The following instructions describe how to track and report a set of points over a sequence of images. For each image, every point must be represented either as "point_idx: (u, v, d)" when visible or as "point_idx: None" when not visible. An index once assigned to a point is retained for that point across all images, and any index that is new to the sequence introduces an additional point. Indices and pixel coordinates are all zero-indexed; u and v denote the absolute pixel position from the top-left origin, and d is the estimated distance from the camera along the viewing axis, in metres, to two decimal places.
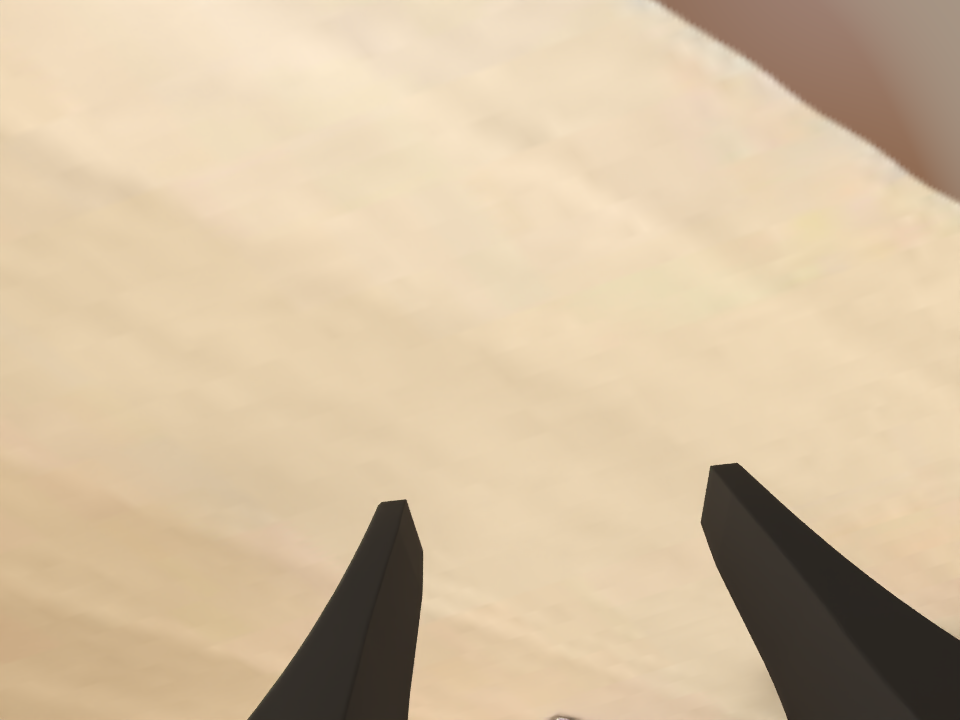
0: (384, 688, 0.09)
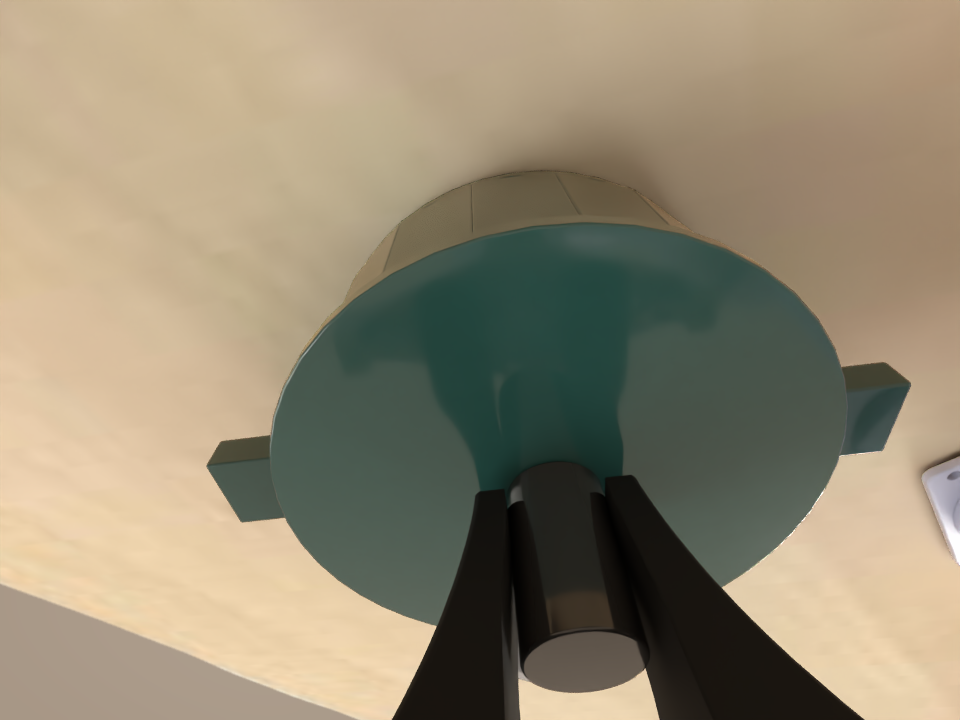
0: (511, 677, 0.09)
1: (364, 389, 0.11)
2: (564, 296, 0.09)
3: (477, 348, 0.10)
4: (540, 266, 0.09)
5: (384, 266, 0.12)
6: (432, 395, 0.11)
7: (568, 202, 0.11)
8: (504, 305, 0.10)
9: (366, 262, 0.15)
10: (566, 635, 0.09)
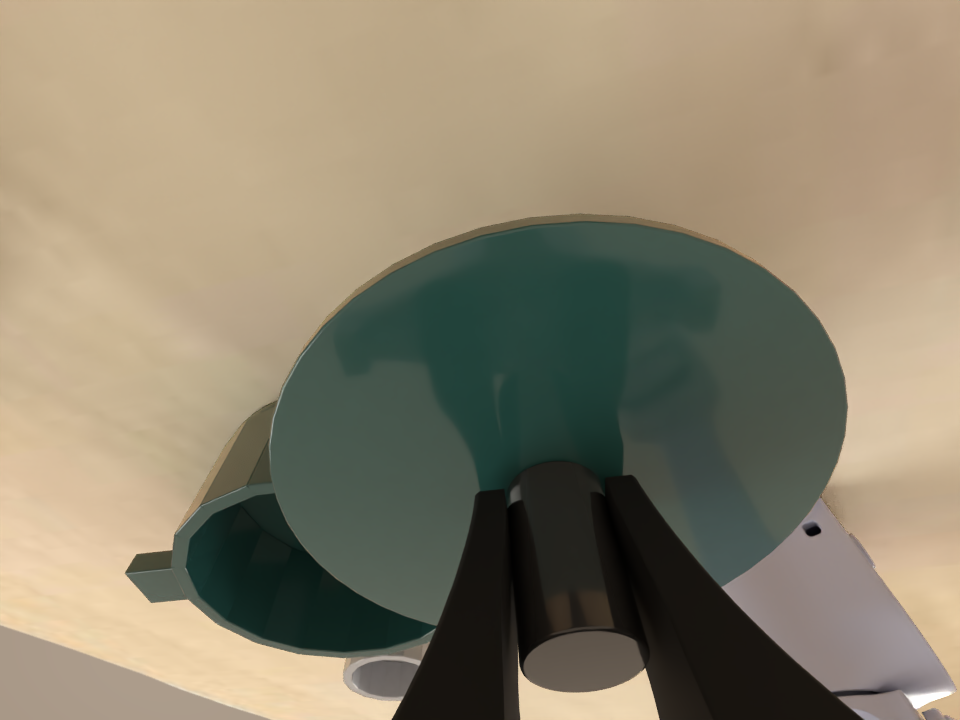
0: (510, 677, 0.09)
1: (364, 389, 0.11)
2: (564, 295, 0.09)
3: (476, 348, 0.10)
4: (540, 265, 0.09)
5: (220, 468, 0.20)
6: (432, 394, 0.11)
7: None
8: (504, 304, 0.09)
9: None
10: (566, 635, 0.09)
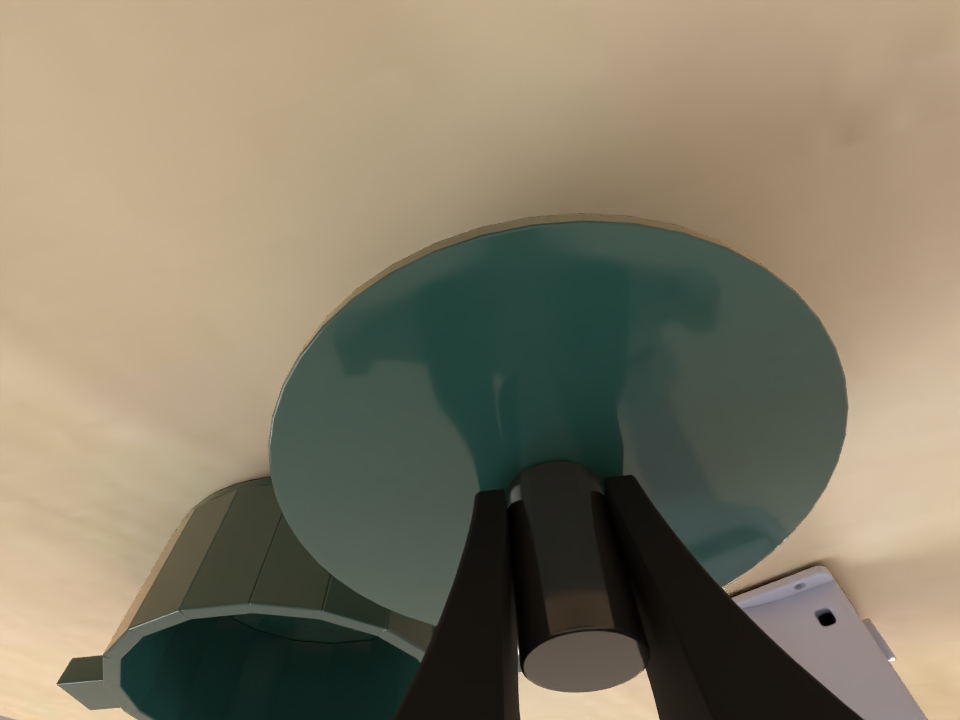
0: (510, 677, 0.09)
1: (364, 388, 0.11)
2: (564, 295, 0.09)
3: (477, 347, 0.10)
4: (540, 265, 0.09)
5: (157, 576, 0.18)
6: (432, 394, 0.11)
7: (267, 545, 0.17)
8: (504, 304, 0.09)
9: (178, 527, 0.21)
10: (566, 635, 0.09)
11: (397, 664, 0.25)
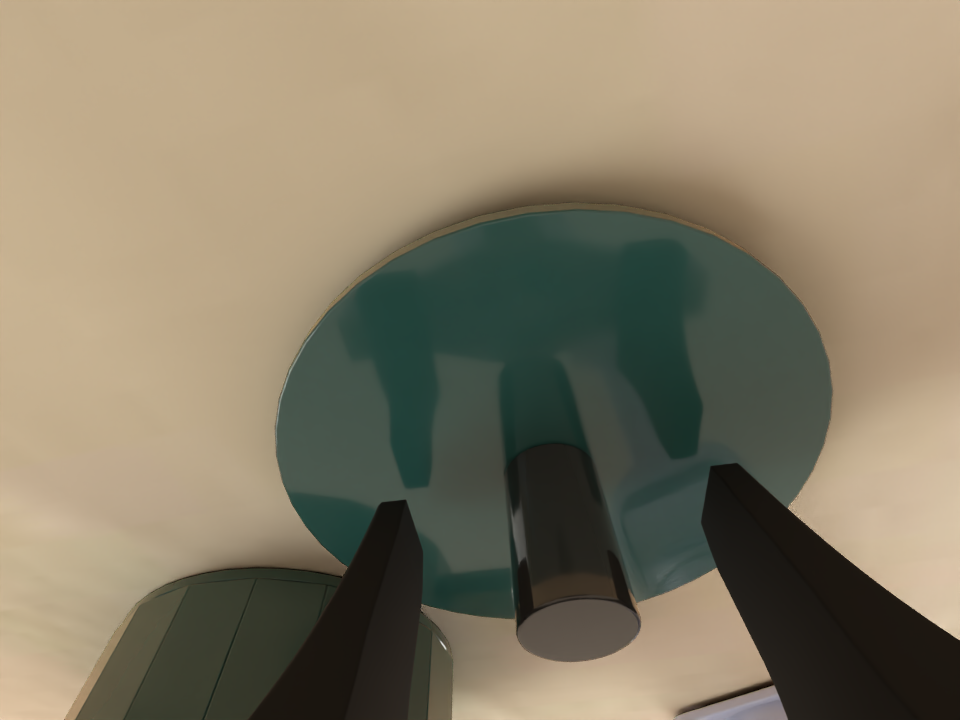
0: (384, 688, 0.09)
1: (367, 372, 0.11)
2: (558, 281, 0.10)
3: (475, 332, 0.10)
4: (535, 252, 0.09)
5: (82, 707, 0.14)
6: (432, 378, 0.11)
7: (217, 673, 0.14)
8: (501, 290, 0.10)
9: (121, 624, 0.17)
10: (560, 603, 0.09)
11: None
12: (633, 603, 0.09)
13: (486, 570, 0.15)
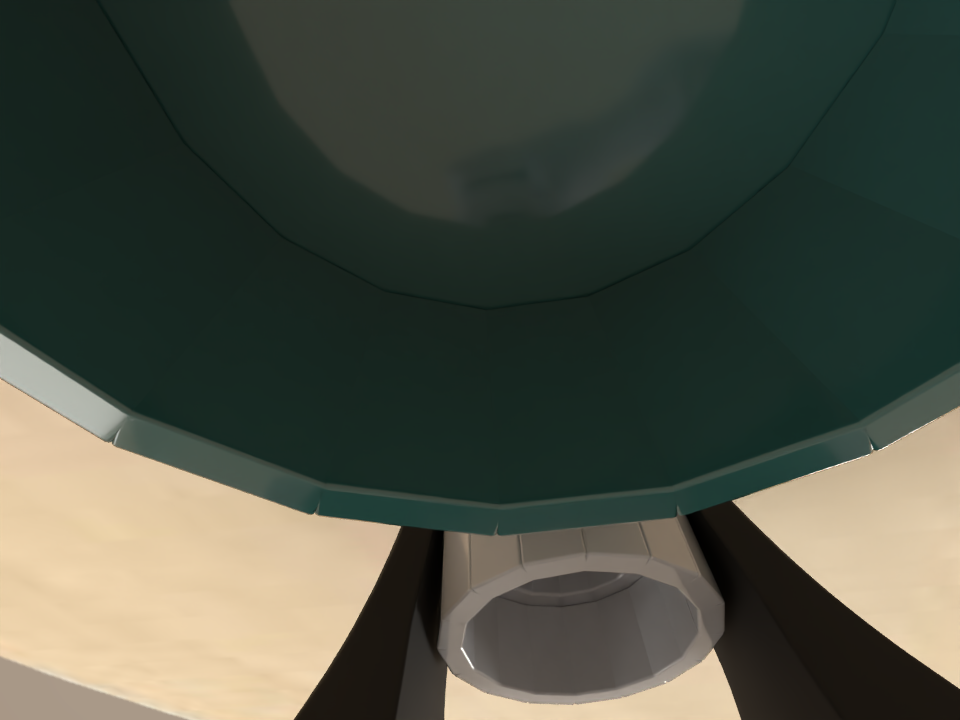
0: (425, 684, 0.09)
1: None
2: None
3: None
4: None
5: None
6: None
7: None
8: None
9: None
10: None
11: (717, 290, 0.08)
12: None
13: None
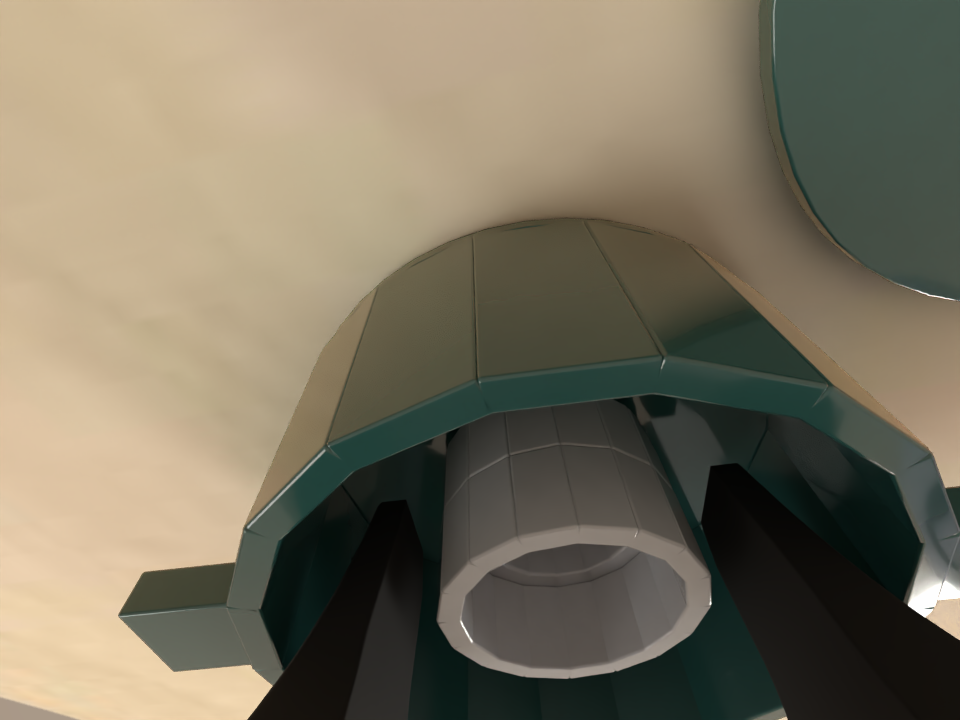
0: (384, 688, 0.09)
1: None
2: None
3: None
4: None
5: (350, 366, 0.08)
6: None
7: (613, 280, 0.08)
8: None
9: (336, 333, 0.11)
10: None
11: None
12: None
13: None
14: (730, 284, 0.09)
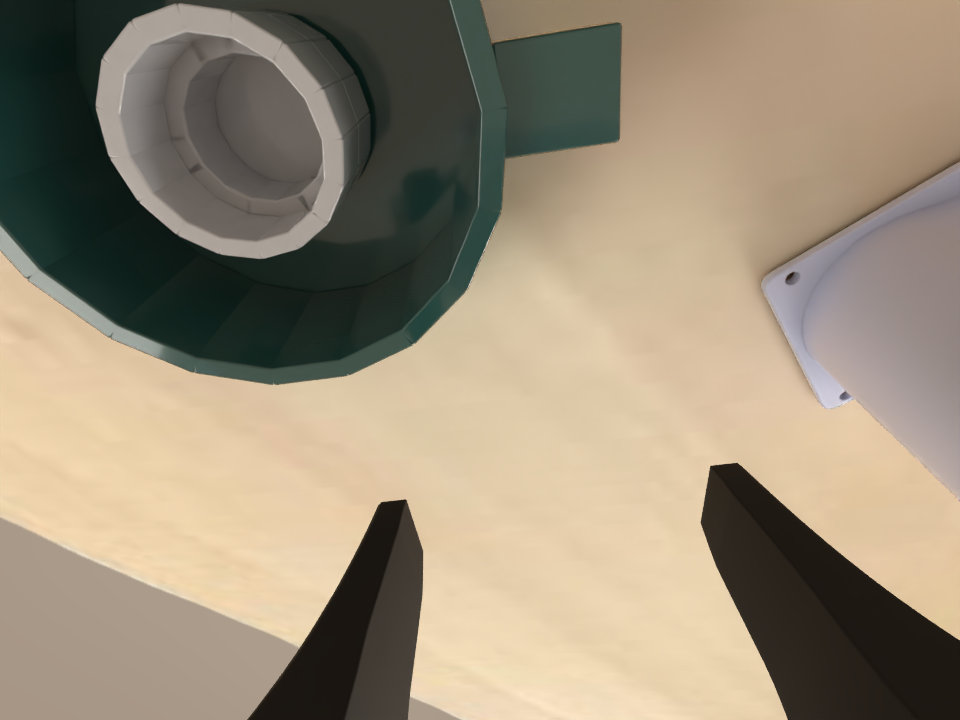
0: (384, 688, 0.09)
1: None
2: None
3: None
4: None
5: None
6: None
7: None
8: None
9: None
10: None
11: (406, 281, 0.17)
12: None
13: None
14: None
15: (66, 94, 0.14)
